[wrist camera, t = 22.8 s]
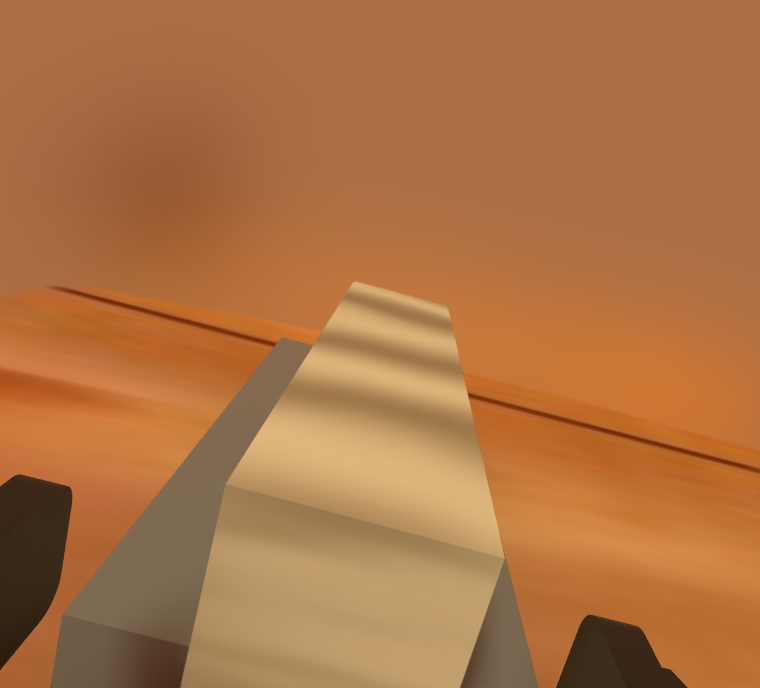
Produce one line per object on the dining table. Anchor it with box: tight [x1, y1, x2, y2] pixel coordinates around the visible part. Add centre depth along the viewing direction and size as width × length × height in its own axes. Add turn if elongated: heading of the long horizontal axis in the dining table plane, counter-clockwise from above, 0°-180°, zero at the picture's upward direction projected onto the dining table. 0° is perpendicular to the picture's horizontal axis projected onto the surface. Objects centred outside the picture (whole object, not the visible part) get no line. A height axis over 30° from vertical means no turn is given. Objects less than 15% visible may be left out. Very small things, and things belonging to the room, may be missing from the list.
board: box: [50, 338, 538, 688], centre depth 28 cm, size 26×11×2 cm, turn 177°
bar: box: [180, 281, 505, 688], centre depth 24 cm, size 24×5×5 cm, turn 177°
